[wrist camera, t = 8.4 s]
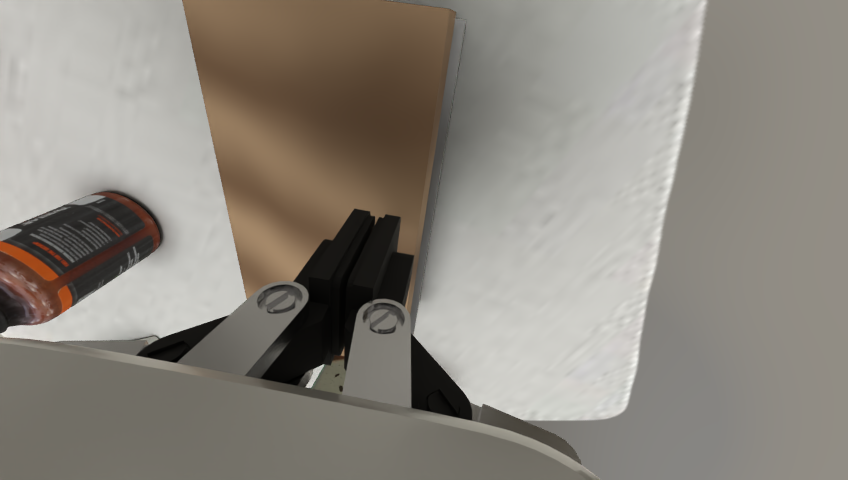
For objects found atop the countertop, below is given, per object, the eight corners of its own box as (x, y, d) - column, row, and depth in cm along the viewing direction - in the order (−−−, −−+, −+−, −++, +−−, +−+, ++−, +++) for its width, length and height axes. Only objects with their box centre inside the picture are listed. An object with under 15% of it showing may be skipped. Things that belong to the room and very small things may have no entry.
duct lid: (194, -23, 14) (176, -27, 13) (456, 11, 11) (449, 9, 10) (258, 309, 24) (250, 316, 24) (401, 369, 22) (396, 379, 21)
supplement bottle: (86, 176, 25) (-155, 259, 15) (164, 208, 25) (-19, 306, 16) (95, 235, 28) (-100, 335, 18) (165, 262, 28) (12, 372, 19)
